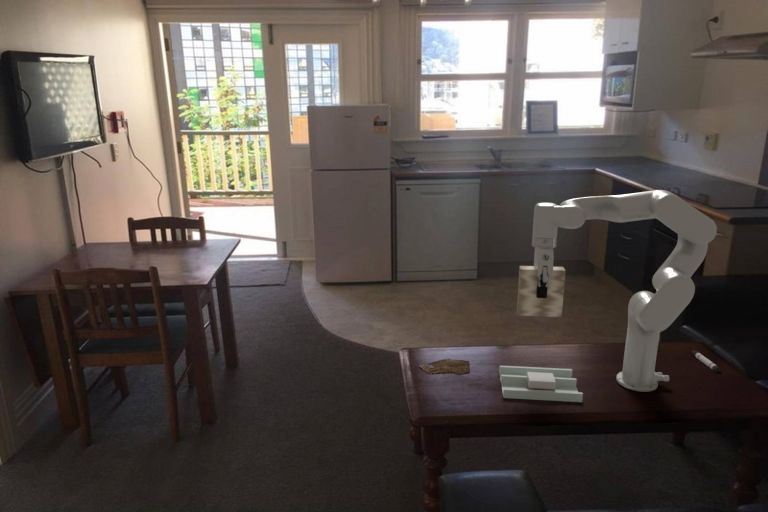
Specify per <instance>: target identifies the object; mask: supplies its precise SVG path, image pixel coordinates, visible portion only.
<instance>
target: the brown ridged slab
mask: <svg viewBox="0 0 768 512" xmlns="http://www.w3.org/2000/svg"><path fill="white" fill-rule="evenodd" d="M426 365H429V366H430V365H432V366H433V367H434V368H429V367H428V366H426ZM419 367H421V368H422V369H423V370H425V371H426V372H427V373H426V372H425V371H424V372H425V373H426V374H429V373H430V374H429V375H431V374H432V373H433V374H432V375H436V374H447V373H452V374H453V373H454V374H458V375H459V374H461V375H462V374H467V373H468V374H469V373H471V370H470V369H471V367H470V361H469V360H463V359H451V358H447V359H440V360H437V361H432V362H429V363H425V364H420V365H418V368H419ZM421 368H420V369H421ZM423 370H422V371H423Z"/></svg>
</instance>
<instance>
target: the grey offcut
mask: <svg viewBox="0 0 768 512" xmlns="http://www.w3.org/2000/svg"><path fill="white" fill-rule="evenodd" d="M527 382H528V386H529V388H538V389H555V385H556V382H555V379H554V376H553V373H540V372H527Z"/></svg>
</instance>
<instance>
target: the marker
mask: <svg viewBox="0 0 768 512" xmlns="http://www.w3.org/2000/svg"><path fill="white" fill-rule="evenodd" d="M691 353H692V355H693V356H694V357H695V358H696V359H698V360H699V361H700V362H702V363H703V364H704V365H706V367H708V368H710V370H713V371H714V372H716V373H717V372H721V367H719V366H718V365H717V364H715V363H714V362H713V361H711V360H710V359H709V358H707V357H705V356H704V355H703V354H702V353H700V352H699V351H697V350H693V349H691Z"/></svg>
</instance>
